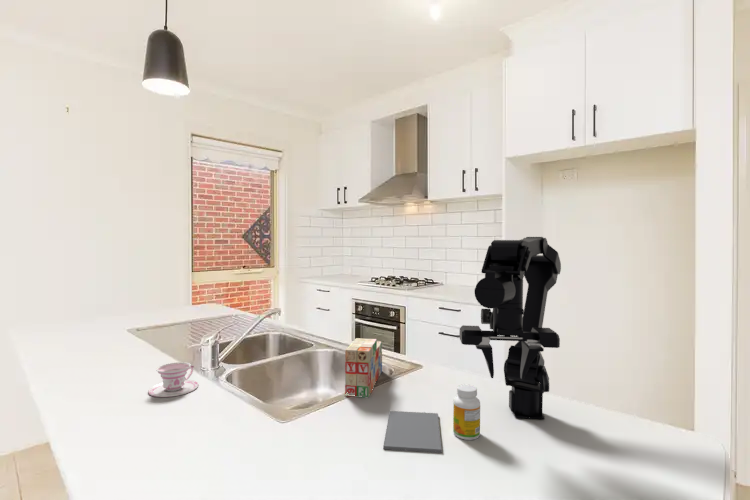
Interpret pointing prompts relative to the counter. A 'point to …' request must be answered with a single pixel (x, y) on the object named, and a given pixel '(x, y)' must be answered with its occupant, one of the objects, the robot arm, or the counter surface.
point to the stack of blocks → (362, 366)
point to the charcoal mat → (413, 432)
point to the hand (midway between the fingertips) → (506, 378)
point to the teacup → (174, 380)
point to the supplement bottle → (466, 413)
